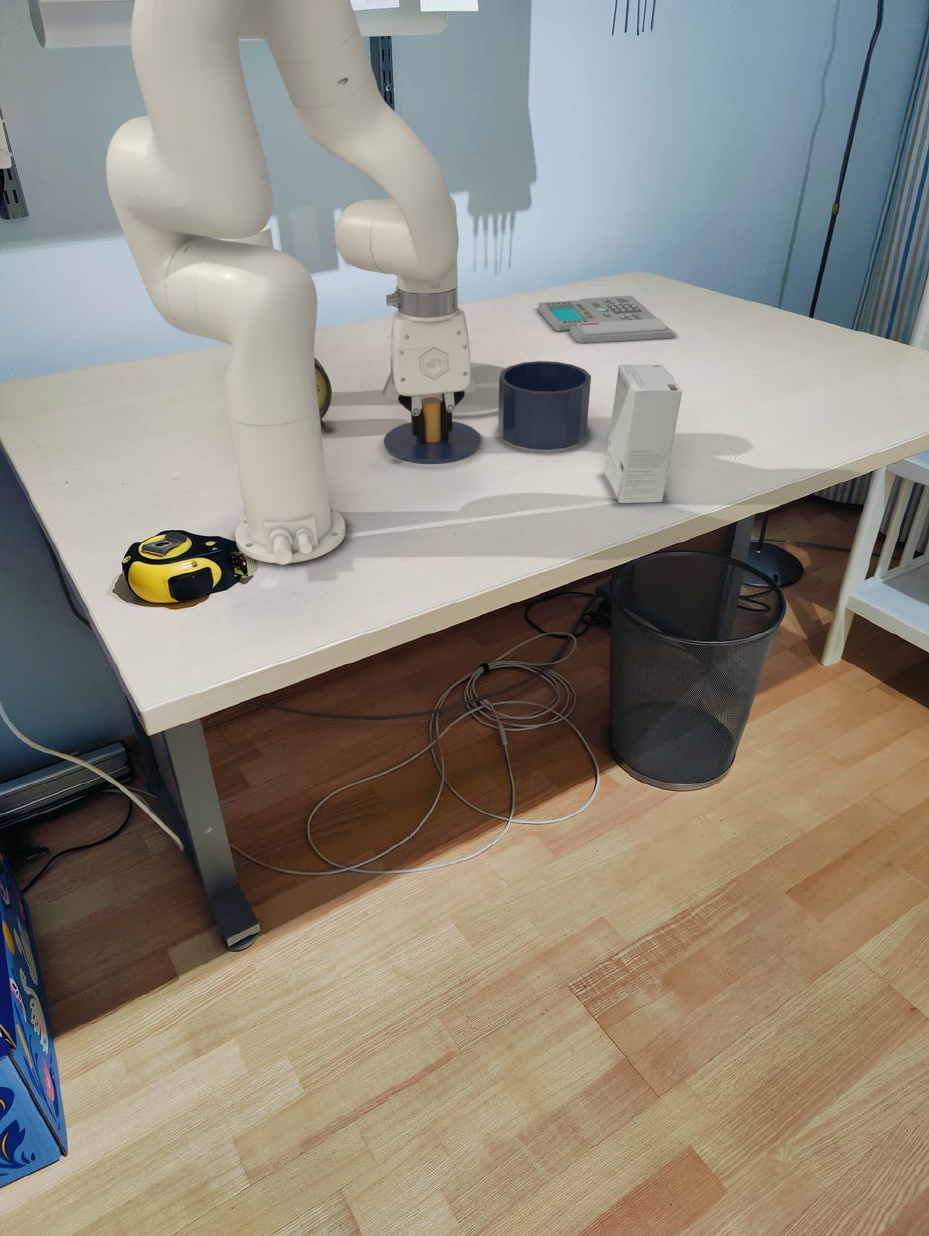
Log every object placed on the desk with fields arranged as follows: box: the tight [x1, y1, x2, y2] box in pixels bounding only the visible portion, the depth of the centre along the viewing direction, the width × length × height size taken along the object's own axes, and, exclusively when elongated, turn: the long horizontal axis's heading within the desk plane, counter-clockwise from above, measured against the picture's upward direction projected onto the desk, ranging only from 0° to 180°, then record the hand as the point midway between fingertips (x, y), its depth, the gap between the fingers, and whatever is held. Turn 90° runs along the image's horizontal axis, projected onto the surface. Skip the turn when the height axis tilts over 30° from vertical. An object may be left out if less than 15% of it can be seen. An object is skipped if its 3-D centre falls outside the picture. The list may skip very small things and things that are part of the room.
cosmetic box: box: [603, 364, 683, 504], centre depth 105 cm, size 8×6×15 cm
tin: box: [497, 360, 592, 451], centre depth 121 cm, size 12×12×8 cm
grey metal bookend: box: [452, 362, 506, 414], centre depth 133 cm, size 22×13×17 cm, turn 0°
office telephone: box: [537, 295, 673, 344], centre depth 165 cm, size 23×3×20 cm
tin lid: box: [383, 396, 482, 465], centre depth 118 cm, size 13×13×7 cm
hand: (432, 436), depth 119 cm, fingers closed on tin lid, 2 cm apart
